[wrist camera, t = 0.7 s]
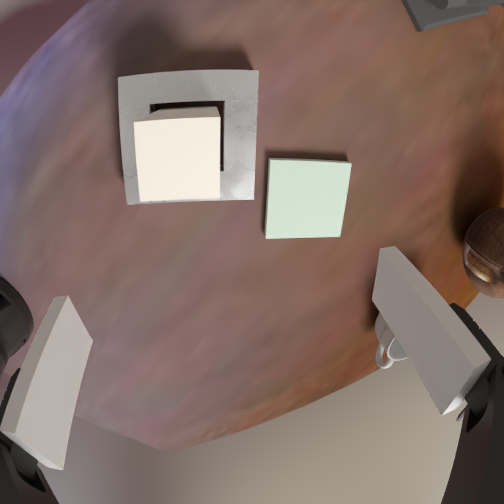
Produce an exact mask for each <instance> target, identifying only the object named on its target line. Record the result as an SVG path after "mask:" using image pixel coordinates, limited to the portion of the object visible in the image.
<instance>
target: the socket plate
mask: <svg viewBox="0 0 504 504" xmlns="http://www.w3.org/2000/svg"><path fill="white" fill-rule="evenodd" d="M258 77H259V70H188V71H171V72H158V73H148V74H139V75H131V76H123V77H118V100H119V123H120V139H121V152H122V163H123V173H124V183H125V191H126V199H127V205H130V204H145V203H163V202H184V201H211V200H254V180H255V154H256V128H257V103H258ZM189 101H223V164H220V198H210V199H184V200H163V201H145V202H140V195H139V186H138V176H137V164H136V151H135V136H134V122H135V121H137V120H139V119H141V118H143V117H145V116H147V115H149V114H151V113H153V112H155V104H157V103H171V102H189Z"/></svg>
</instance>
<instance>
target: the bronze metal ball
mask: <svg viewBox="0 0 504 504" xmlns="http://www.w3.org/2000/svg"><path fill="white" fill-rule="evenodd" d="M462 256H463V264H464V268H465V271H466V274H467V276H468V278H469V280H470V281H471V283H472V284H473V285H474V286H475V287H476V288H477V289H478V290H479V291H480V292H482V293H483V294H485V295H487V296H489V297H493V298H504V208H493V209H490V210H487V211H485V212H483V213H482V214H480V215H479V216H478V217H477V218H476V219H475V220H474V221H473V222H472V224H471V225H470V227H469V228H468V230H467V233H466V235H465V238H464V242H463V250H462Z"/></svg>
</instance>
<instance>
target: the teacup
mask: <svg viewBox="0 0 504 504" xmlns="http://www.w3.org/2000/svg"><path fill="white" fill-rule="evenodd" d="M375 332H376V335H377V338H378V340H379V345H378V348H377V351H376V357H375V360H376V363H377V365H378V366H379V367H380V368H388V367H390V366H391V365H392V364H393V361H394V360H403V359H406V358H408V356H407V355H406V353H405V351H404V350H403V348H402V346H401V345H400V343H399V342H398V340H397V338H396V337H395V335H394V333H393V332H392V330H391V329H390V327H389V326H388V324H387V322H386V321H385V319H384V318H383V316H382V315H381V313H380V312H379V314H378V317H377V319H376V322H375ZM384 349H385V351H386V353H387V356H388V359H387V361H386V362H385V363H384V362H383V361H382V354H383V350H384Z"/></svg>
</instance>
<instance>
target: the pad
mask: <svg viewBox="0 0 504 504" xmlns="http://www.w3.org/2000/svg"><path fill="white" fill-rule="evenodd" d="M350 171H351V163H350V162H348V161H335V160H317V159H293V158H269V162H268V181H267V199H266V216H265V234H264V235H265V238H266V239H273V238H307V237H340V233H341V228H342V222H343V216H344V210H345V204H346V198H347V191H348V185H349V178H350Z"/></svg>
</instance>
